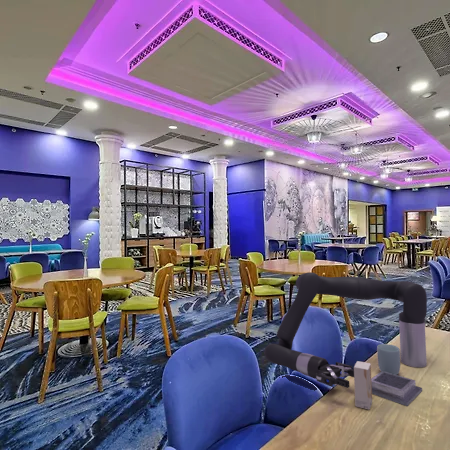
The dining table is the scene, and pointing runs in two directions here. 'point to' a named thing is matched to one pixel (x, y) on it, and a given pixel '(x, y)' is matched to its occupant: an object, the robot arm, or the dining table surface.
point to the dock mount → (395, 388)
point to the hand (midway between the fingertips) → (355, 380)
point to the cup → (388, 358)
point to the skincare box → (363, 385)
